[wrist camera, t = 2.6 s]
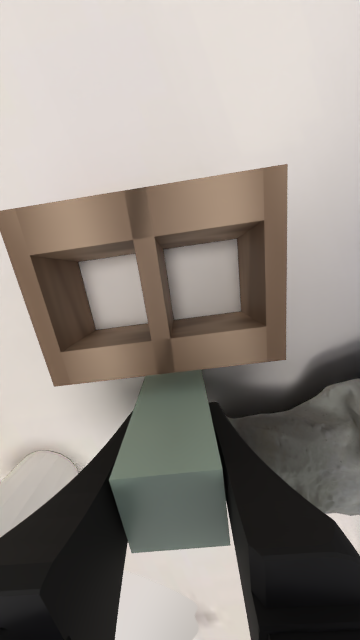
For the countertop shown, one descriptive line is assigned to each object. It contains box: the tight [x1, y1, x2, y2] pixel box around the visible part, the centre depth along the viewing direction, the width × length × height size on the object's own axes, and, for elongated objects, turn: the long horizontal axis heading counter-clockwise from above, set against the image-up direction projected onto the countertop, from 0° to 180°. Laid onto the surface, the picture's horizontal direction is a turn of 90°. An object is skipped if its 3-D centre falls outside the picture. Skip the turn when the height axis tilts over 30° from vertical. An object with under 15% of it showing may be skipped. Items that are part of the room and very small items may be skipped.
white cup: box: [0, 451, 78, 537], centre depth 14 cm, size 7×7×7 cm
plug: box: [109, 370, 230, 553], centre depth 10 cm, size 4×4×7 cm
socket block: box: [0, 164, 287, 386], centre depth 11 cm, size 13×9×4 cm
